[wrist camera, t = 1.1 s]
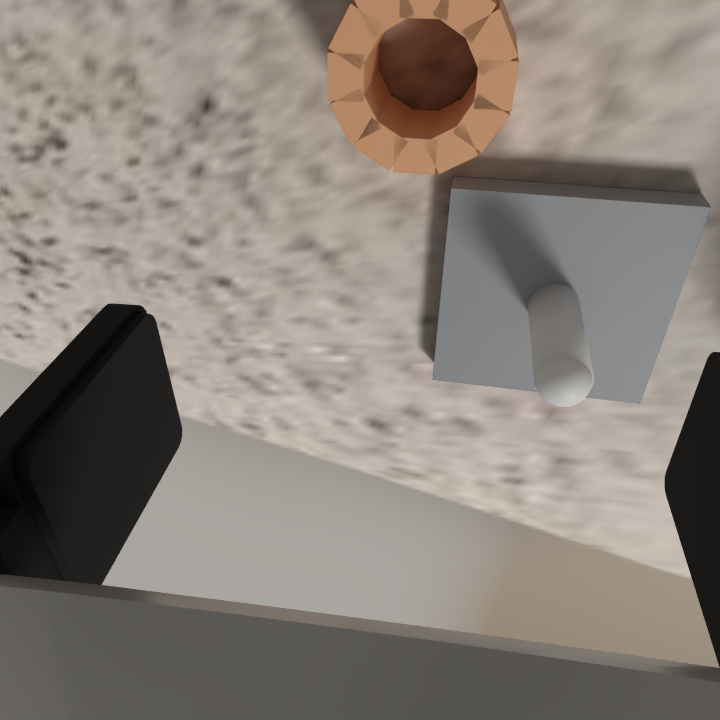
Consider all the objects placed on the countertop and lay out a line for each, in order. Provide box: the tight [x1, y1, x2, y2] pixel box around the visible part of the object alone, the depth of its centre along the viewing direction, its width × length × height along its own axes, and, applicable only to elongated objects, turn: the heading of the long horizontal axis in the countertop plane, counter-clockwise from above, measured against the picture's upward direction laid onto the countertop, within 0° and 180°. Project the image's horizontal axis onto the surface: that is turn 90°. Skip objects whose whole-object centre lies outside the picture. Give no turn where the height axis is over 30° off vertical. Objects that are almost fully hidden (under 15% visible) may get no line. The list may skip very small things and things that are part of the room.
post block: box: [432, 176, 711, 407], centre depth 29 cm, size 11×11×8 cm
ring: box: [327, 0, 519, 175], centre depth 25 cm, size 7×7×4 cm
